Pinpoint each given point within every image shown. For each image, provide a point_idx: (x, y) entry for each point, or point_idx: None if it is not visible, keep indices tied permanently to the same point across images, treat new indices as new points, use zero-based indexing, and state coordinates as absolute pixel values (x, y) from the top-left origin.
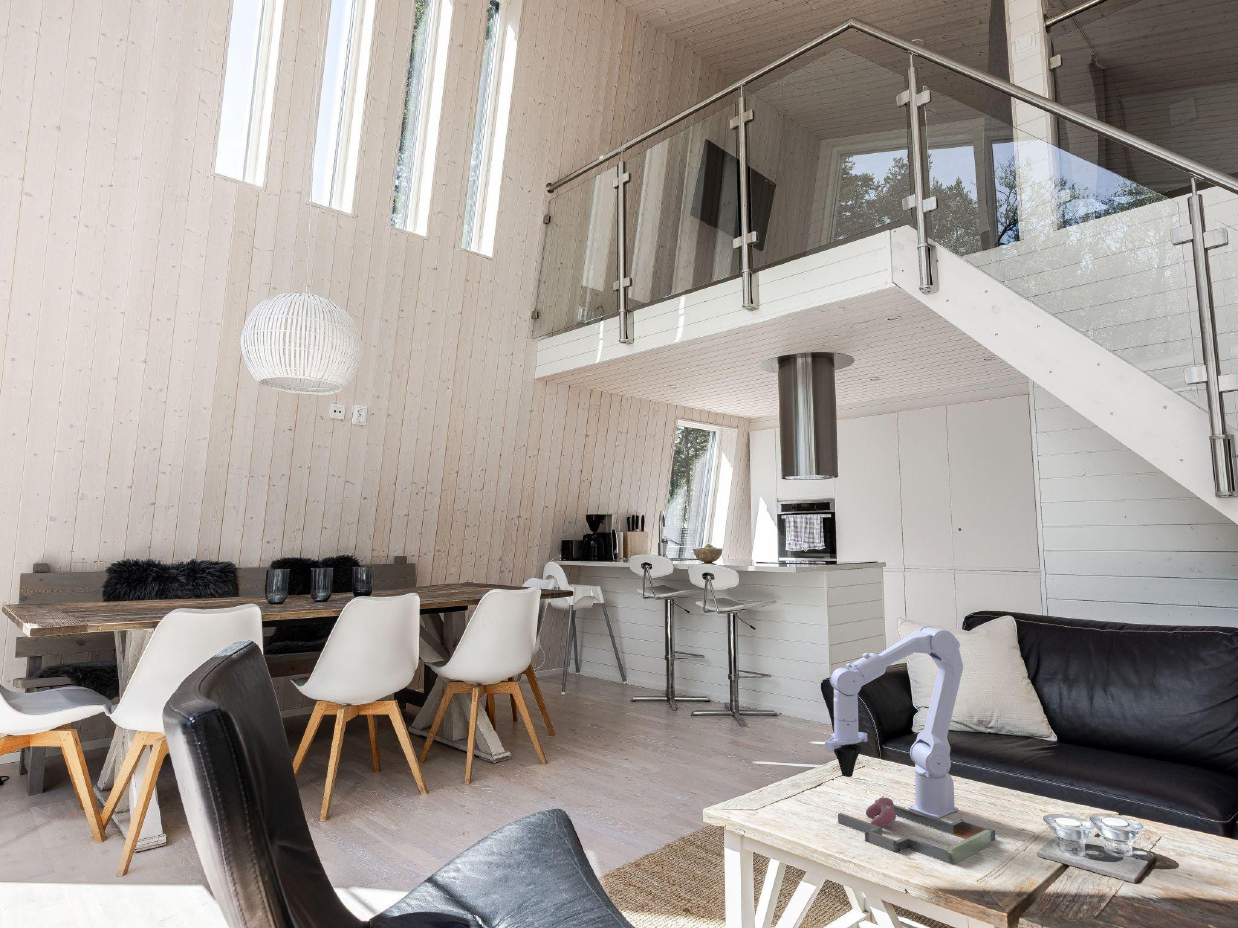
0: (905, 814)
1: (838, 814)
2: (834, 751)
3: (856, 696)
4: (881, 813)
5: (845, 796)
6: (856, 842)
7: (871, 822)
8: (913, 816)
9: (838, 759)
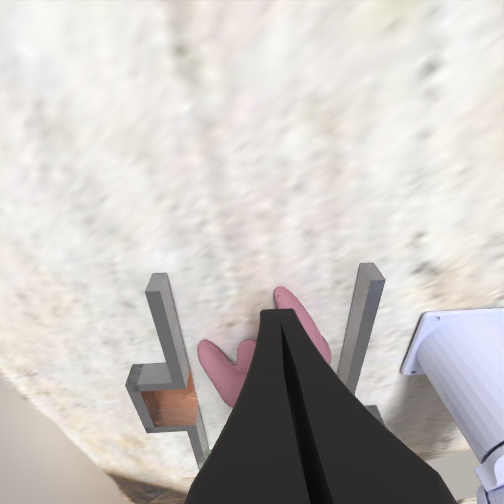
0: (348, 348)
1: (146, 292)
2: (207, 464)
3: None
4: (218, 391)
5: (417, 114)
6: (104, 361)
7: (198, 356)
8: (345, 365)
9: (241, 394)
